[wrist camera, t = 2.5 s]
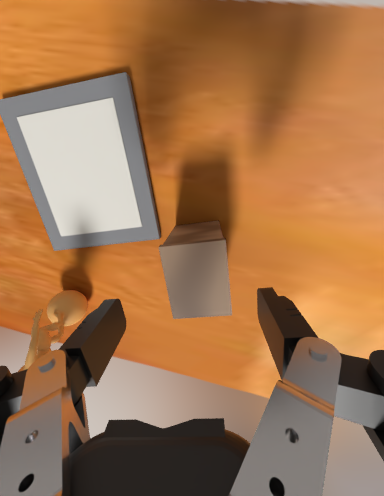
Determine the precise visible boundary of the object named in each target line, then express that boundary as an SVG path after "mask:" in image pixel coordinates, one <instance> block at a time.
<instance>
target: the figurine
mask: <svg viewBox="0 0 384 496" xmlns="http://www.w3.org/2000/svg"><path fill="white" fill-rule="evenodd" d="M87 308H88V302H87V299H86V297H85V296H84V295H83V294H82V293H80V292H78V291H75V290H66V291H63V292H60V293H58V294H57V295H55V296H54V297H53V298H52V299H51V300H50V302H49V304H48V307H47V315H48V318H49V319H50V321H51V322H53V324H50V325H48V326H44V327H41V328H39V320H40V317H41V313H42V311H43V309H42V310H41V312H40V310H39V311H38V312H36V315H35V318H33V320H34V324H33V327H32V332H31V342H30V346H29V351H28V354H27V357H26V361H25V365H24V366H23V367H22V368H21V369H20V370H19V371H18V372H20V371H23V370H26V369H28V368H29V367H30V366H31V364H32V363H33V362H34V361H36V360H37V359H38V358H39V357H41V356H42V355H44V354H46V353H48V352H51V349H50V346H51V343H56V342H58V341H59V340H60V338H61V337H62V336H63V334H64V326H69V325H73V324H75V323H77V322H78V321H80V320H81V319H82V318H83V317H84V315H85V314H86V312H87ZM57 329H58V331H59V333H58V335H55V336H53V337H50V335H49V332H48V330H49V331H54V330H57ZM37 350H38V351H37Z"/></svg>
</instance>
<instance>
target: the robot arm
mask: <svg viewBox="0 0 384 496" xmlns="http://www.w3.org/2000/svg"><path fill="white" fill-rule="evenodd" d="M257 304H258V319H259V323H260V325H261V328H262V330H263V333H264V336H265V338H266V341H267V343H268V346H269V349H270V351H271V354H272V356H273V359H274V361H275V364H276V367H277V369H278V372H279V374H280V377H281V379H282V381H281V380H278V382H277V383H276V385H275V387H274V390H273V392H272V394H271V397H270V399H269V402H268V404H267V407H266V409H265V411H264V414H263V416H262V418H261V421H260V423H259V425H258V428H257V430H256V432H255V435H254V437H253V440H252V442H251V444H250V443H249V442H248V441H247V440H245V439H244V438H242V437H241V436H239V435H237V434H235V433H233V432H231V431H228V430H225V426H224V419H193V420H189V421H186V422H183V423H180V424H177V425H174V426H171V427H168V428H163V429H162V428H159V427H156V426H153V425H150V424H147V423H144V422H141V421H138V420H109V422H108V424H107V427H106V430H105V432H103V433H101V434H99V435H97V436H95V437H93V438H91V439H90V435H89V427H88V419H87V412H86V404H85V397H84V394H83V391H84V389H85V388H86V387H90V386H97V384H98V382H99V380H100V378H101V376H102V375H103V373H104V371H105V369H106V367H107V365H108V363H109V361H110V359H111V357H112V355H113V353H114V351H115V349H116V347H117V345H118V344H119V342H120V340H121V338H122V336H123V334H124V332H125V329H126V318H125V315H124V311H123V308H122V305H121V301H120V300H119V299H109V300H104V301H103V303H102V304H101V305H100V306H99V307H98V309H96V310H94V311H93V312H91V313H90V314H89V315H88V316H87V317H86V318H85V319H84V320H83V321H82V323H81V324H80V325H79V326H78V327H77V329H76V330H75V331H74V332H73V333H72V334H71V336H70V337H69V338H68V339H67V340H66V342H65V343H64V344H63V345H62V346H61V348H60V349H59V350H54V351H51V352H48V353H46V354H44V355H42V356H41V357H39V358H38V359H37V360H36V361H34V362H33V363H32V364H31V366H30V367H29V368H28V369H26V370H23V371H20V372H16V373H13V374H11V373H10V371H9V369H8V368H7V367H6V366H0V496H322V492H323V486H324V478H325V472H326V465H327V458H328V452H329V445H330V438H331V431H332V424H333V417H334V416H335V417H338V418H342V419H345V420H348V421H351V422H354V423H357V424H360V425H363V427H364V429H365V430H366V432H367V434H368V435H369V437H370V439H371V440H372V442H373V444H374V446H375V447H376V449H377V451H378V452H379V454H380V456H381V457H382V459H383V461H384V350H377V351H374V352H372V353H371V354H370V356H369V359H364V358H359V357H354V356H349V355H345V354H342V353H339V351H338V350H337V349H336V348H335V347H334V346H333V345H332V344H330V343H329V342H327V341H325V340H322V339H320V338H318V337H317V335H316V334H315V332H314V331H313V330H312V328H311V327H310V325H309V324H308V323H307V321H306V320H305V319H304V317H303V316H302V315H301V313H300V312H299V310H297V307H296V306H295V305H294V303H293V302H292V301H291V300H289V299H288V298H286V297H285V296H278V295H277V294H276V292H275V291H274V289H273V288H272V287H271V288H258V290H257Z"/></svg>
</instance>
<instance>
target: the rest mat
mask: <svg viewBox="0 0 384 496" xmlns="http://www.w3.org/2000/svg"><path fill="white" fill-rule="evenodd" d="M0 115H1V117H2V120H3V122H4V125H5V127H6V130H7V132H8V135H9V137H10V140H11V142H12V145H13V148H14V150H15V153H16V155H17V158H18V160H19V163H20V165H21V168H22V170H23V173H24V175H25V178H26V180H27V183H28V185H29V188H30V190H31V193H32V195H33V198H34V201H35V203H36V206H37V208H38V211H39V213H40V216H41V218H42V221H43V223H44V226H45V228H46V231H47V233H48V236H49V238H50V241H51V243H52V246H53V248H54V251H56V250H65V249H74V248H83V247H92V246H101V245H109V244H118V243H127V242H136V241H145V240H154V239H160V238H161V233H160V228H159V223H158V218H157V213H156V208H155V203H154V198H153V193H152V188H151V183H150V178H149V172H148V167H147V162H146V157H145V152H144V147H143V142H142V137H141V132H140V127H139V122H138V117H137V112H136V107H135V101H134V96H133V91H132V86H131V81H130V77H129V75H128V74H127V73H126V72H124V73H119V74H115V75H110V76H106V77H101V78H96V79H92V80H87V81H83V82H78V83H74V84H69V85H65V86H60V87H55V88H51V89H46V90H42V91H37V92H33V93H28V94H24V95H19V96H15V97H10V98H5V99H1V100H0Z"/></svg>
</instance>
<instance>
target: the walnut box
mask: <svg viewBox="0 0 384 496" xmlns="http://www.w3.org/2000/svg"><path fill="white" fill-rule="evenodd" d="M159 252H160V256H161V261H162V266H163V271H164V276H165V281H166V285H167V290H168V295H169V300H170V305H171V310H172V314H173V319H180V318H195V317H211V316H227V315H232V308H231V296H230V284H229V273H228V261H227V249H226V239H225V238H223V235H222V231H221V227H220V223H219V220H218V221H210V222H202V223H193V224H185V225H177V226H175V227H174V229H173V230H172V232H171V233H170V235H169V236H168V238H167V239H166V241H165V242H164V244H163V245H160V246H159Z"/></svg>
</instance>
